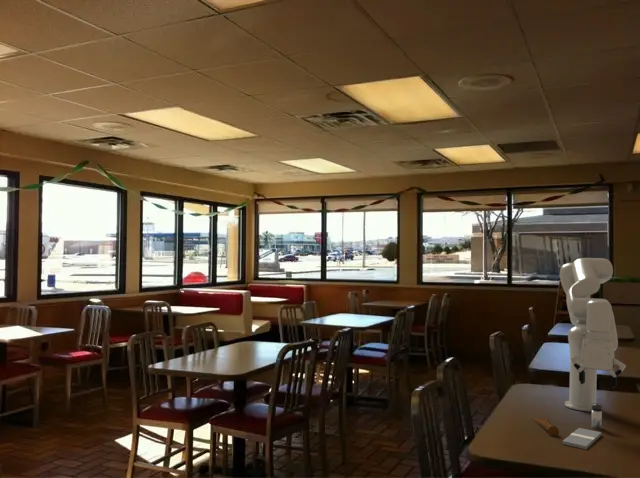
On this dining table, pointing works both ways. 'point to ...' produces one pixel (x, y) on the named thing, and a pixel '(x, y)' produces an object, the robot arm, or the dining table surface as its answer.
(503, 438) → the dining table surface
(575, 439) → the panel
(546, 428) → the primitive tool
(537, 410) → the dining table surface
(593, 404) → the steel peg
